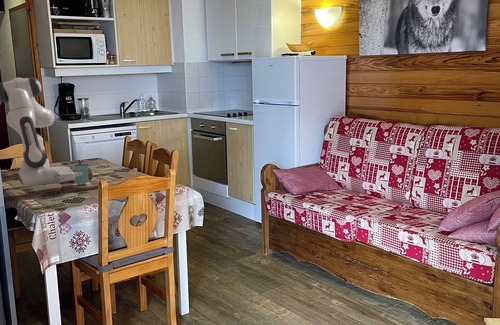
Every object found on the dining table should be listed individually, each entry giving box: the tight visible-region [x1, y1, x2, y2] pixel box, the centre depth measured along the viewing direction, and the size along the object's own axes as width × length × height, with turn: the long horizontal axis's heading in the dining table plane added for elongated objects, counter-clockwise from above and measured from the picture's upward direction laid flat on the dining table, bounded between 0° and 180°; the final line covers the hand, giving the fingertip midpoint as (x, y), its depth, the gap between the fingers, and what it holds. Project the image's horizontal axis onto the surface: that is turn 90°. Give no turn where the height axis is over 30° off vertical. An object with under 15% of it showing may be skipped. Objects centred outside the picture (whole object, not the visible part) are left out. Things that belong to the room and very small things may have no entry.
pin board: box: [61, 180, 99, 194], centre depth 265 cm, size 14×18×5 cm
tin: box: [69, 166, 94, 182], centre depth 279 cm, size 15×3×8 cm, turn 68°
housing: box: [71, 159, 89, 184], centre depth 263 cm, size 5×7×12 cm
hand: (81, 172), depth 264 cm, fingers closed on housing, 5 cm apart
